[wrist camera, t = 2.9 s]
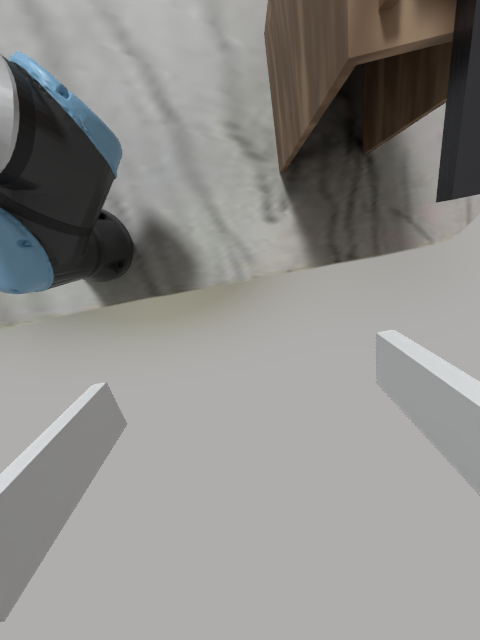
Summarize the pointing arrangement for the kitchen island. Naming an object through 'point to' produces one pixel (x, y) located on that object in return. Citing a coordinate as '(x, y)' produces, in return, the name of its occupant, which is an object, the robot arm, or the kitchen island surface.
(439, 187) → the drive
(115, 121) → the kitchen island surface
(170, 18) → the kitchen island surface
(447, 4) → the stand
